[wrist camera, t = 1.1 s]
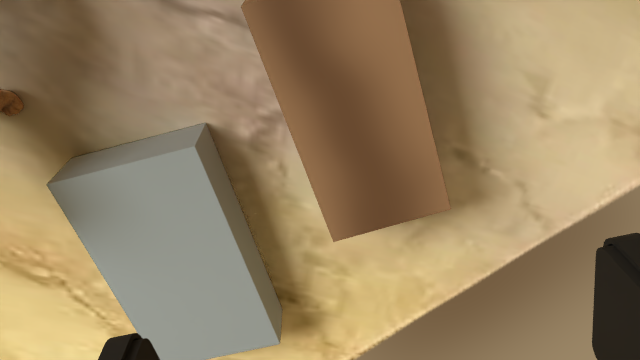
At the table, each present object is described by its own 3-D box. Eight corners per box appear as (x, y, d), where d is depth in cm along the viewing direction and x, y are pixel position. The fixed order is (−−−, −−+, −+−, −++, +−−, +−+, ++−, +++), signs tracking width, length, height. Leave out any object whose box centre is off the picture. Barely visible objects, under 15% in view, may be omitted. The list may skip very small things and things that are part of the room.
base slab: (205, 122, 27) (194, 146, 25) (282, 309, 34) (279, 344, 31) (71, 158, 28) (46, 184, 25) (171, 333, 35) (159, 369, 32)
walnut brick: (373, -56, 23) (388, -47, 19) (429, 162, 29) (450, 209, 24) (253, -13, 24) (240, 6, 20) (330, 192, 30) (333, 241, 25)
